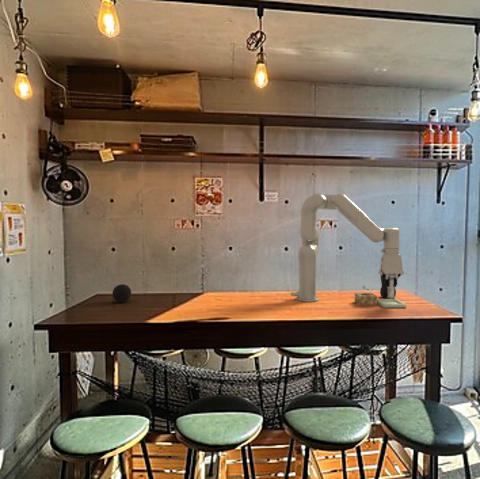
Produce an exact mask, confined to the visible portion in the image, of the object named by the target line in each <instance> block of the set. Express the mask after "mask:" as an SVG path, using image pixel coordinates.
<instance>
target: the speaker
mask: <svg viewBox="0 0 480 479" xmlns="http://www.w3.org/2000/svg"><path fill="white" fill-rule="evenodd" d="M131 296H132V289H131V288H130V286H128V285H127V284H118V285H116V286H115V287H114V288H113V289H112V298H113V300H114V301H116V302H117V303H126V302H127V301H129V300H130V299H131Z"/></svg>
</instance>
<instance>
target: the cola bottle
mask: <svg viewBox="0 0 480 479" xmlns="http://www.w3.org/2000/svg"><path fill="white" fill-rule="evenodd" d="M382 273H383V272H382ZM383 274H384V273H383ZM379 275H380V274H379ZM379 277H380V282H381V287H380V291H379V294H380V297H382V299H393V298H388V287H387V286H385V278H384V277H383V276H382V275H380V276H379ZM396 295H397V291H396V287H394V298H395V297H396Z"/></svg>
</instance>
